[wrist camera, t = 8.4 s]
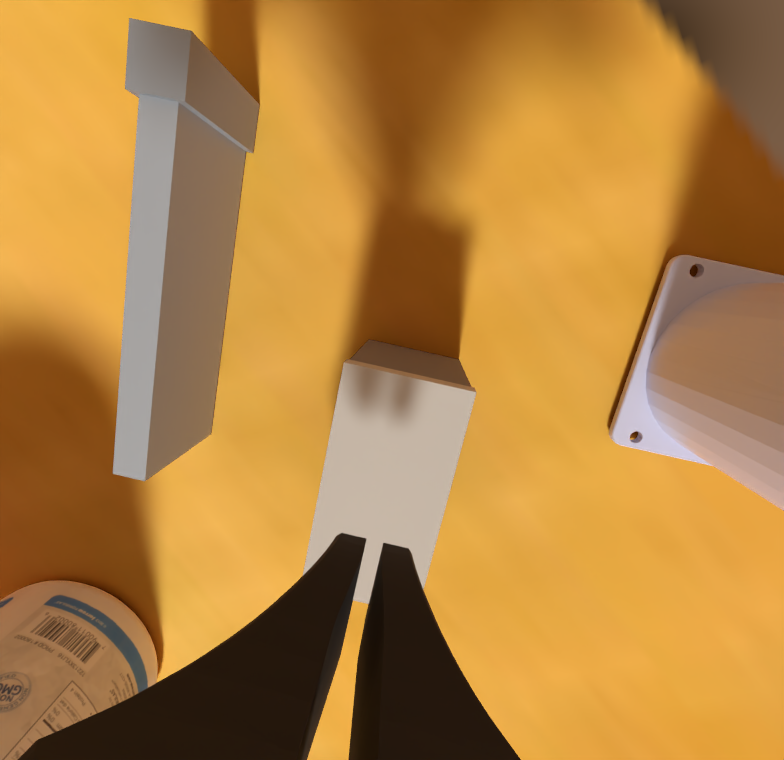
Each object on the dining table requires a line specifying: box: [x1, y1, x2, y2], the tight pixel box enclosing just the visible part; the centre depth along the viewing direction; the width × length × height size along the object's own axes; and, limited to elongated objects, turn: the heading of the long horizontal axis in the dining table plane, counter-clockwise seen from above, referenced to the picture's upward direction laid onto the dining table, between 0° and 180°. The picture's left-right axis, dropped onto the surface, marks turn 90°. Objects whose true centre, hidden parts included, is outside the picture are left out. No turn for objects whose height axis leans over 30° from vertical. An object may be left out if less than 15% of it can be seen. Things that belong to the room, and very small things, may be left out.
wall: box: [113, 18, 259, 481], centre depth 15 cm, size 2×30×5 cm, turn 168°
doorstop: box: [303, 339, 476, 604], centre depth 17 cm, size 4×8×6 cm, turn 168°
